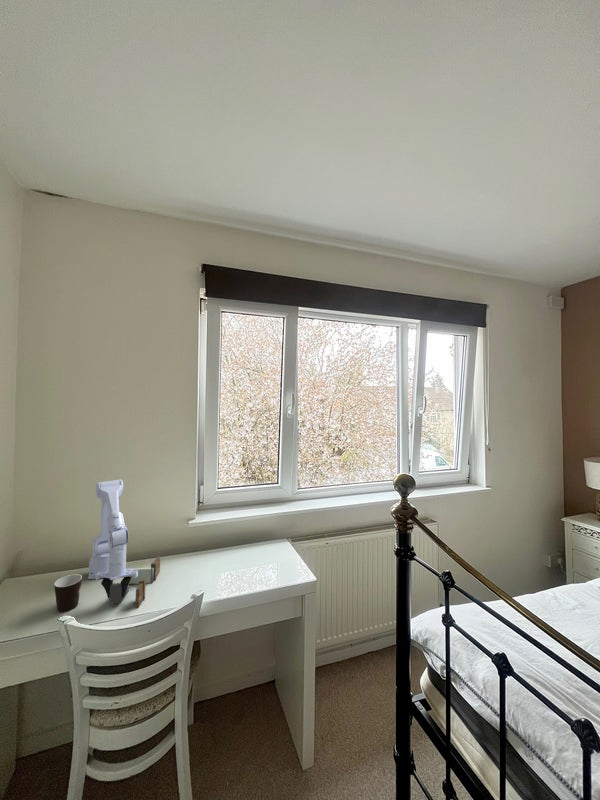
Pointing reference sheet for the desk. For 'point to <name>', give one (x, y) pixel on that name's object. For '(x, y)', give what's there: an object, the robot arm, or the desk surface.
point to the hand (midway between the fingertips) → (116, 596)
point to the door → (143, 575)
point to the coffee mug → (67, 592)
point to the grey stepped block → (116, 593)
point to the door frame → (141, 587)
